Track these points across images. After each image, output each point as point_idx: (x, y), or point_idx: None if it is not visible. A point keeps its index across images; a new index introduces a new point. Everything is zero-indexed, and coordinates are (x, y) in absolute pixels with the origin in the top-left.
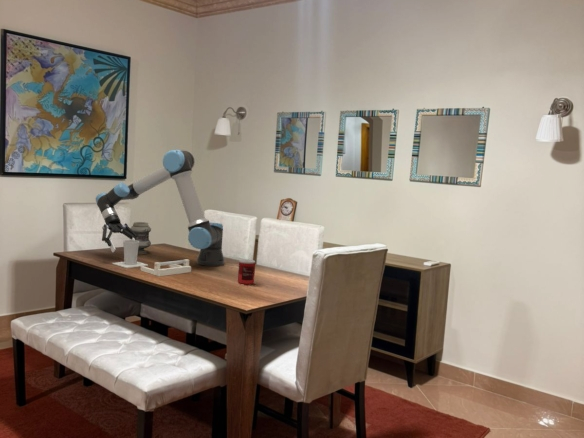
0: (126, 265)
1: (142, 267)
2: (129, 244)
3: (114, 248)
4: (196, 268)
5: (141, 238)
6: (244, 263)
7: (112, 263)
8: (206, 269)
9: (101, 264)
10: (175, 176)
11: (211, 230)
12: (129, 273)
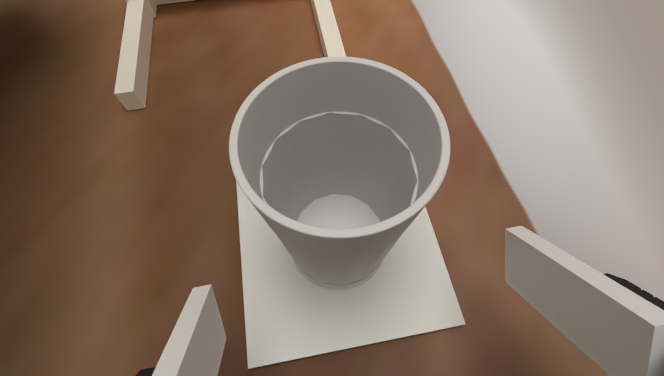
0: None
1: (343, 49)
2: (389, 88)
3: (522, 230)
4: (45, 45)
5: None
6: None
7: (463, 323)
8: (24, 18)
9: (556, 330)
10: None
11: None
12: (425, 42)
